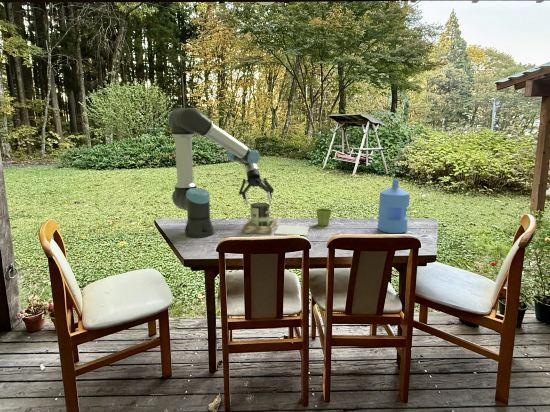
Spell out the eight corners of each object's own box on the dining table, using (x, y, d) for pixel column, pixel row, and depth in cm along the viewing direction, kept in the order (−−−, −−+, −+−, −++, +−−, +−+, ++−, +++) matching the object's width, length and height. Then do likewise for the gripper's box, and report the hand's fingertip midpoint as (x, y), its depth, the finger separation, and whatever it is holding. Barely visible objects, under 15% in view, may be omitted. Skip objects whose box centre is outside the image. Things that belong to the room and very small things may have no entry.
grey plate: (274, 234, 203) (274, 233, 203) (279, 226, 220) (279, 225, 219) (306, 236, 201) (306, 235, 200) (309, 227, 217) (309, 226, 217)
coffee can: (271, 227, 217) (271, 202, 214) (267, 232, 207) (267, 206, 204) (253, 226, 219) (253, 202, 216) (248, 231, 209) (248, 205, 206)
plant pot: (319, 221, 229) (319, 207, 227) (333, 224, 224) (334, 209, 223) (312, 225, 221) (312, 210, 219) (327, 227, 217) (328, 212, 215)
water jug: (371, 228, 216) (374, 178, 210) (392, 224, 223) (396, 177, 217) (391, 235, 203) (395, 182, 197) (413, 231, 210) (417, 180, 204)
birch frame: (243, 232, 207) (243, 226, 206) (249, 224, 222) (249, 219, 221) (271, 233, 204) (271, 227, 204) (276, 226, 219) (276, 220, 218)
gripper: (271, 175, 235) (278, 205, 224) (231, 177, 228) (236, 207, 217) (274, 168, 229) (281, 198, 218) (232, 169, 222) (237, 200, 211)
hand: (258, 203), depth 218 cm, fingers open, 13 cm apart
